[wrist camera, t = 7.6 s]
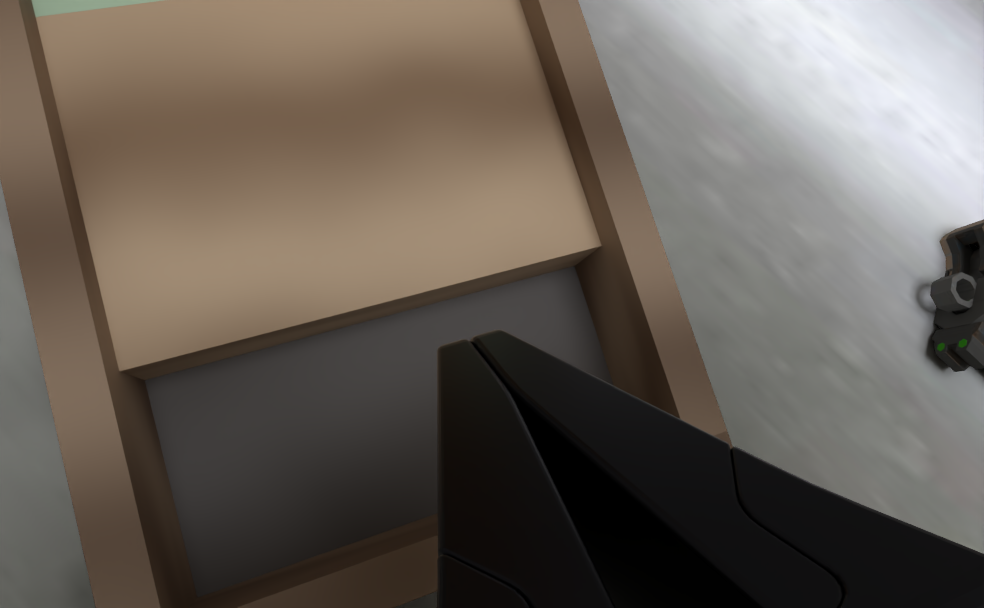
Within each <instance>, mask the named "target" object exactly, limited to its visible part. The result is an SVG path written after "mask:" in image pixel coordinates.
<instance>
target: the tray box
mask: <svg viewBox="0 0 984 608" xmlns="http://www.w3.org/2000/svg"><path fill="white" fill-rule="evenodd" d="M0 179H1V184H2V188H3V193H4V197H5V202H6V206H7V211H8V215H9V220H10V224H11V229H12V233H13V238H14V242H15V247H16V251H17V256H18V260H19V265H20V269H21V274H22V278H23V283H24V287H25V292H26V296H27V301H28V305H29V310H30V314H31V319H32V323H33V328H34V332H35V337H36V341H37V346H38V350H39V355H40V359H41V364H42V368H43V373H44V377H45V382H46V386H47V391H48V395H49V400H50V404H51V409H52V413H53V418H54V422H55V427H56V431H57V436H58V440H59V445H60V449H61V454H62V458H63V463H64V467H65V472H66V476H67V481H68V485H69V490H70V494H71V499H72V503H73V508H74V512H75V517H76V521H77V526H78V530H79V535H80V539H81V544H82V548H83V553H84V557H85V562H86V566H87V571H88V575H89V580H90V584H91V589H92V593H93V598H94V602H95V607H96V608H394V607H397V606H399V605H402V604H405V603H407V602H410V601H412V600H415V599H418V598H420V597H423V596H425V595H428V594H431V593H433V592H436V591H437V560H438V495H437V349H438V348H439V347H440V346H441V345H444V344H448V343H451V342H455V341H458V340H462V339H467V340H469V341H470V340H471V338H472V337H473V336H476V335H480V334H483V333H487V332H490V331H494V330H503V331H505V332H507V333H509V334H511V335H513V336H515V337H517V338H519V339H521V340H523V341H525V342H527V343H529V344H531V345H533V346H535V347H537V348H539V349H541V350H543V351H545V352H547V353H549V354H551V355H553V356H555V357H557V358H559V359H561V360H563V361H565V362H567V363H569V364H571V365H573V366H575V367H577V368H579V369H581V370H583V371H585V372H587V373H589V374H591V375H593V376H595V377H597V378H599V379H601V380H603V381H605V382H607V383H609V384H611V385H613V386H615V387H617V388H619V389H621V390H623V391H625V392H627V393H629V394H631V395H633V396H635V397H637V398H639V399H641V400H643V401H645V402H647V403H649V404H651V405H653V406H655V407H657V408H659V409H661V410H663V411H665V412H667V413H669V414H671V415H673V416H675V417H677V418H679V419H681V420H683V421H685V422H687V423H689V424H691V425H693V426H695V427H697V428H699V429H701V430H703V431H705V432H707V433H709V434H711V435H713V436H715V437H717V438H719V439H721V440H723V441H725V442H727V443H728V444H729V445H730V450H731V448H732V447H733V446H732V444H731V441H730V438H729V435H728V432H727V429H726V426H725V423H724V420H723V418H722V415H721V412H720V409H719V406H718V403H717V400H716V397H715V395H714V392H713V389H712V386H711V383H710V380H709V377H708V374H707V371H706V369H705V366H704V363H703V360H702V357H701V354H700V351H699V348H698V345H697V343H696V340H695V337H694V334H693V331H692V328H691V325H690V322H689V320H688V317H687V314H686V311H685V308H684V305H683V302H682V299H681V296H680V294H679V291H678V288H677V285H676V282H675V279H674V276H673V273H672V270H671V268H670V265H669V262H668V259H667V256H666V253H665V250H664V247H663V245H662V242H661V239H660V236H659V233H658V230H657V227H656V224H655V221H654V219H653V216H652V213H651V210H650V207H649V204H648V201H647V198H646V195H645V193H644V190H643V187H642V184H641V181H640V178H639V175H638V172H637V170H636V167H635V164H634V161H633V158H632V155H631V152H630V149H629V146H628V144H627V141H626V138H625V135H624V132H623V129H622V126H621V123H620V120H619V118H618V115H617V112H616V109H615V106H614V103H613V100H612V97H611V95H610V92H609V89H608V86H607V83H606V80H605V77H604V74H603V71H602V69H601V66H600V63H599V60H598V57H597V54H596V51H595V48H594V45H593V43H592V40H591V37H590V34H589V31H588V28H587V25H586V22H585V20H584V17H583V14H582V11H581V8H580V5H579V2H578V0H164V1H156V2H149V3H141V4H133V5H125V6H118V7H110V8H102V9H94V10H87V11H79V12H71V13H63V14H56V15H48V16H40V17H35V12H34V8H33V4H32V0H0Z"/></svg>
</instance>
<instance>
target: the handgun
mask: <svg viewBox="0 0 984 608" xmlns="http://www.w3.org/2000/svg"><path fill="white" fill-rule="evenodd" d="M940 244H941V246H942V249H943V251H944V254H945V256H946V273H945V277H942V278H940V279H938V280H936V281H935V282H933V283H932V288H931V297H932V299H933V301H934V303H935V305H936V307H937V310H936V314H935V319H934V323H935V324H936V325H937V326H939V327H940V328H941V330H936V331H935V333H934V335H933V337H932V339H933V340H934V341H935V345H934V348H935V352H936V355H937V356H938V357H940V358H941V359H942V360H943V361H944V362H945V363H946V364H947V365H948V366H949V367H950V368H951V369H952V370H953V371H954V372H957V371H964V370H966V369H967V368H968V367H969V366H972V367H973V368H975V369H980V368H983V369H984V220H981V221H978V222H975V223H972V224H969V225H967V226H964V227H961V228H958V229H955V230H954V231H952V232H950V233H949V234H947V235H946V236H944V237H943V238H942V239H941V240H940ZM969 244H972V245H974V246H976V247H978V248H979V249H977V250H975V251H973V250H972V249H971V247H970V246H969Z"/></svg>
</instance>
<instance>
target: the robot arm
mask: <svg viewBox="0 0 984 608" xmlns="http://www.w3.org/2000/svg"><path fill="white" fill-rule="evenodd" d="M437 495H438V560H437V608H984V554H983V553H980V552H978V551H975V550H973V549H970V548H968V547H965V546H963V545H960V544H958V543H955V542H953V541H950V540H948V539H945V538H943V537H940V536H938V535H935V534H933V533H931V532H928V531H926V530H923V529H921V528H918V527H916V526H913V525H911V524H908V523H906V522H903V521H901V520H898V519H896V518H893V517H891V516H888V515H886V514H883V513H881V512H879V511H876V510H874V509H871V508H869V507H866V506H864V505H861V504H859V503H857V502H854V501H852V500H850V499H847V498H845V497H843V496H840V495H838V494H836V493H833V492H831V491H828V490H826V489H824V488H821V487H819V486H817V485H814V484H812V483H810V482H808V481H806V480H804V479H801V478H799V477H797V476H795V475H793V474H791V473H789V472H787V471H785V470H782V469H780V468H778V467H776V466H774V465H772V464H770V463H768V462H766V461H763V460H761V459H759V458H757V457H755V456H754V455H752V454H750V453H748V452H746V451H744V450H742V449H740V448H738V447H732V448H731V450H730V445H729V444H728V443H727V442H725V441H723V440H721V439H719V438H717V437H715V436H713V435H711V434H709V433H707V432H705V431H703V430H701V429H699V428H697V427H695V426H693V425H691V424H689V423H687V422H685V421H683V420H681V419H679V418H677V417H675V416H673V415H671V414H669V413H667V412H665V411H663V410H661V409H659V408H657V407H655V406H653V405H651V404H649V403H647V402H645V401H643V400H641V399H639V398H637V397H635V396H633V395H631V394H629V393H627V392H625V391H623V390H621V389H619V388H617V387H615V386H613V385H611V384H609V383H607V382H605V381H603V380H601V379H599V378H597V377H595V376H593V375H591V374H589V373H587V372H585V371H583V370H581V369H579V368H577V367H575V366H573V365H571V364H569V363H567V362H565V361H563V360H561V359H559V358H557V357H555V356H553V355H551V354H549V353H547V352H545V351H543V350H541V349H539V348H537V347H535V346H533V345H531V344H529V343H527V342H525V341H523V340H521V339H519V338H517V337H515V336H513V335H511V334H509V333H507V332H505V331H503V330H494V331H490V332H487V333H483V334H480V335H476V336H473V337H472V338H471V340H470V341H469V340H467V339H462V340H458V341H455V342H451V343H448V344H444V345H441V346H440V347H439V348H438V349H437Z"/></svg>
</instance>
